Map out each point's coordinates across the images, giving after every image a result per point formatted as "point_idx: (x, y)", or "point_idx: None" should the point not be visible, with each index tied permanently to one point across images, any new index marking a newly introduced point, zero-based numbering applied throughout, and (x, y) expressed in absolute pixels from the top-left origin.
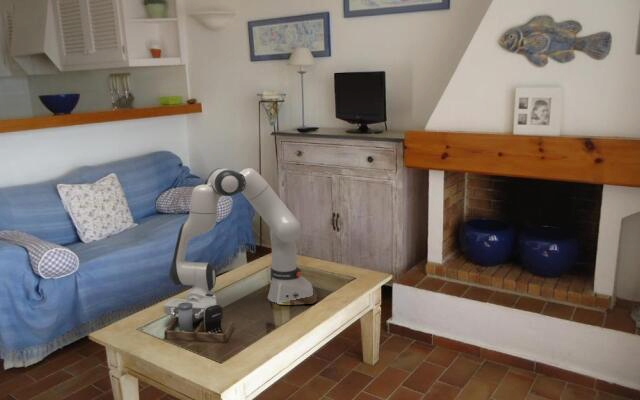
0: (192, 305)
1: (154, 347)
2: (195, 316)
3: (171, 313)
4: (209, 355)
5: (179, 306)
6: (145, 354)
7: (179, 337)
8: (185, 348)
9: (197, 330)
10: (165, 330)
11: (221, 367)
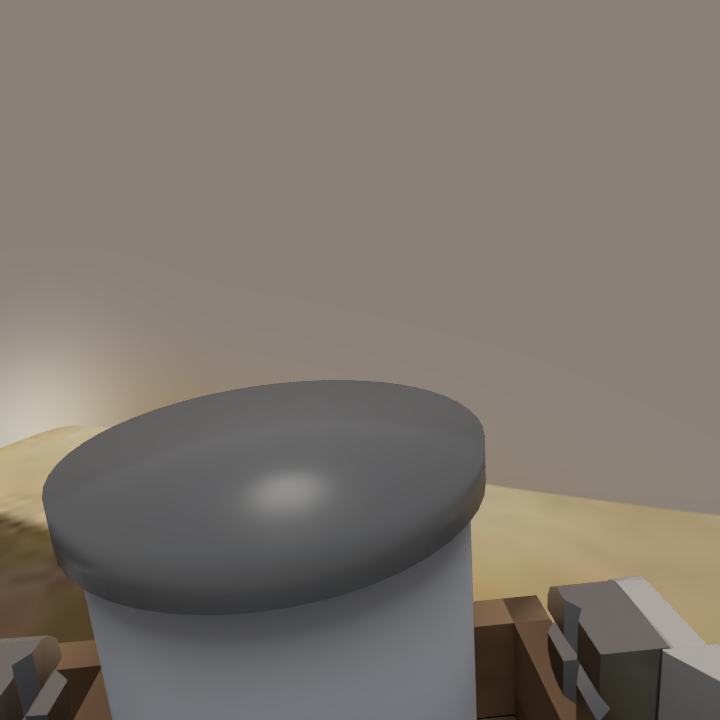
0: (61, 462)
1: (508, 553)
2: (54, 666)
3: (617, 581)
4: (50, 555)
5: (394, 391)
6: (499, 493)
7: None
8: None
9: (88, 710)
10: (544, 617)
11: (11, 493)
